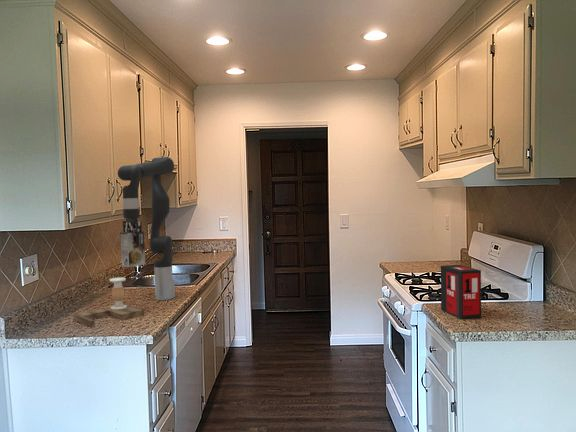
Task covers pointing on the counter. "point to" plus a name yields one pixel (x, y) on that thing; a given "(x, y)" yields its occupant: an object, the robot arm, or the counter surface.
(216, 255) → the counter surface
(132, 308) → the notched board
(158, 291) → the robot arm
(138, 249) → the coffee box
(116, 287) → the bobbin
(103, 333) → the counter surface
